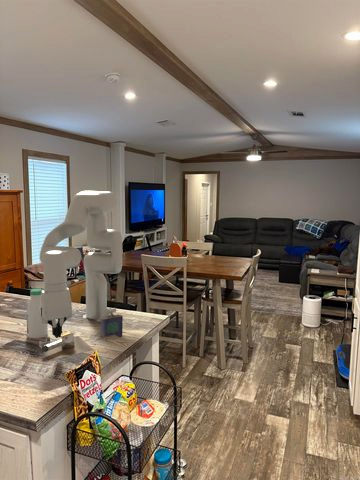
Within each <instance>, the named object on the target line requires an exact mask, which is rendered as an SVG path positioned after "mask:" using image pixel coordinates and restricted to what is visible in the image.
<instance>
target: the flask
mask: <svg viewBox="0 0 360 480" xmlns="http://www.w3.org/2000/svg"><path fill="white" fill-rule="evenodd" d="M113 313H114V312H110V315H109V316H108V317H104V318H101V322H100V337H102V338H105V337H109V336H116V337H118V338H122V337H123V321H124V319H123V315H122V314H113Z"/></svg>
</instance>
